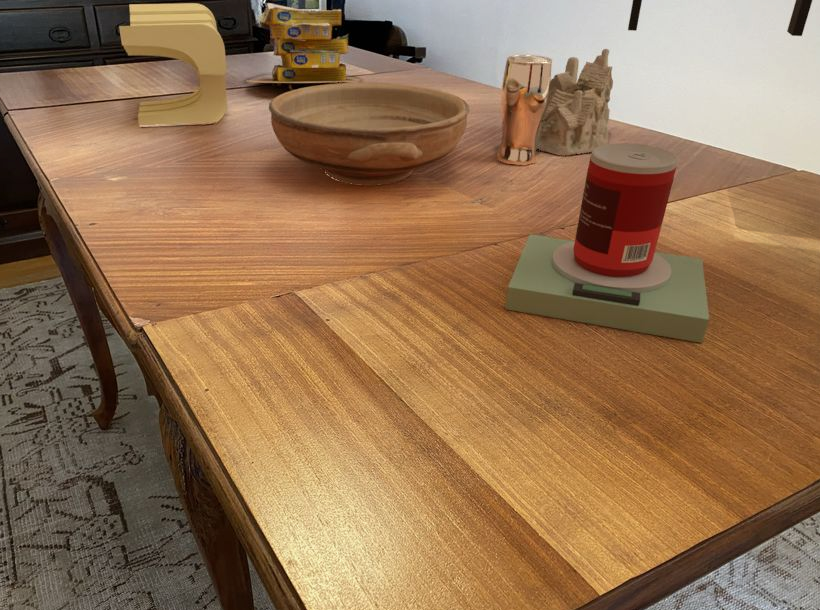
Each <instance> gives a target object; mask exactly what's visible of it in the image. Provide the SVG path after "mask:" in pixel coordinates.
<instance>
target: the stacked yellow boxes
mask: <svg viewBox="0 0 820 610" xmlns="http://www.w3.org/2000/svg"><path fill="white" fill-rule="evenodd" d="M342 17H343V13H342V9H341V8H338V9H336V8H334V9H332V10H329V9H328V10H326V9H321V10H320V9H319V10H316V9H313V10H312V9H299V8H295V7H290V6H285V5H280V4H277V3H276V4H275V3H271V2H267V3H266V7H265V9H264V12H262V13H261V14H259V16H258V17H257V21H258V22H259V23H261V24H265V25H268V26H269V33H270V34H269V36H270V37H269V38H270V39H272V40H274V47H273V55H272V56H275V57H280V59H281V64H277V65H274V66H273V68H272V71H271V77H272V78H273V79H270V78H256V79H247V80H246V82H248V83H262V84H263V83H266V84H267V83H268V84H271V85H272V87H274V88H275V86H276V85H275V84H277V86H278V87H279V86H281V84H288V88H289V91H293V90H296V89H295V88H294V89H293V85H292V84H321V83H324V84H325V83H338V82H339V83H348V82H360V81H361V79H360V78H352V77H351V78H350V77H347V66H346V64H344V63H340V62H341V55H346V54H349V51H348V49H349V48H348V47H349V46H348V45H349V34H346V35H343V36H337V37H336V38H333V37H332V35H333V27H337V26H342V20H343V19H342ZM334 30H336V31H337V28H335V29H334Z"/></svg>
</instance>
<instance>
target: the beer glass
mask: <svg viewBox="0 0 820 610" xmlns="http://www.w3.org/2000/svg"><path fill="white" fill-rule="evenodd" d="M552 64H553V59H552V58H550V57H548V56H543V55H535V54H534V55H533V54H515V55H514V54H513V55H509V56H507V57H506V63H505V68H504V72H503V78H502V85H501V97H500V99H501V101H500V103H501V104H500V105H501V106H500V107H501V126H502V127H501V128H502V129H501V130H502V133H501V141H500V145H499V148H498V151H497V154H496V160H497V161H498V160H499V161H498V162H500V161H501V162H500V163H502V162H504V163H503V164H505V163H509V164H517V165H516V166H519V165H522V164H523V165H522V166H525V165H524V164H530V165H532V164H531V163H533V164H535V163H536V162H537V149H536V139H537V134H538V130H539V126H540V123H541V120H542V117H543V114H544V111H545V108H546V104H547V100H548V95H549V89H550V81H551V79H552ZM535 161H536V162H535ZM534 162H535V163H534ZM509 164H508V165H509Z"/></svg>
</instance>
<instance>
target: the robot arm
mask: <svg viewBox="0 0 820 610" xmlns="http://www.w3.org/2000/svg"><path fill="white" fill-rule="evenodd" d="M642 3H643V0H632V3H631V9H630V15H629V19H628V26H627V31H634V32H635V31H637V30H638V25H639V24H638V23H639V19H640V13H641V9H642ZM812 3H813V0H795V2H794V6H793V8H792V13H791V17H790V20H789V24H788V26H787V30H786V31H787V33H788V34H789V35H791V37H802V36H803V34H804V30H805V27H806V24H807V20H808V16H809V13H810V10H811V6H812Z"/></svg>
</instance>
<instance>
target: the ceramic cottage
mask: <svg viewBox="0 0 820 610" xmlns="http://www.w3.org/2000/svg"><path fill="white" fill-rule="evenodd" d="M609 54H610V49H609V48H603V49H602V51H601V54H599V55H596V57H595V59H594V61H593V62H590V61H586V62H585V64H584V65H583V68H582V69H581V72H580V73H579V61H580V60H579V58H578V57H575V56H571V57H569V58H568V59H567V62H566V65H565V68H564V69H565V70H564V72H561V73H556V74H555V75H553V78H551V81H550V89H549V95H548V100H547V104H546V108H545V111H544V114H543V117H542V120H541V123H540V126H539V130H538V134H537V139H536V150H537V149H539V150H538V151H540V150H541V152H542V151H543V152H546V153H548V154H552V155H554V154H560V155H559V156H561V155H562V156H565V155H566V156H572V155H576V154H577V155H581V154H580V153H582V154H587V153H588V154H589V152H590V153H592V151H593V149H595V148H596V147H599V146H602V145H607V144H609V122H610V111H611V110H610V108H609V102H610V101H611V91H612V89H613V87H614V86H613V85H614V80H613V77H612V76H613V75H612V71H613V66H609ZM578 73H579V76H578Z"/></svg>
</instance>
